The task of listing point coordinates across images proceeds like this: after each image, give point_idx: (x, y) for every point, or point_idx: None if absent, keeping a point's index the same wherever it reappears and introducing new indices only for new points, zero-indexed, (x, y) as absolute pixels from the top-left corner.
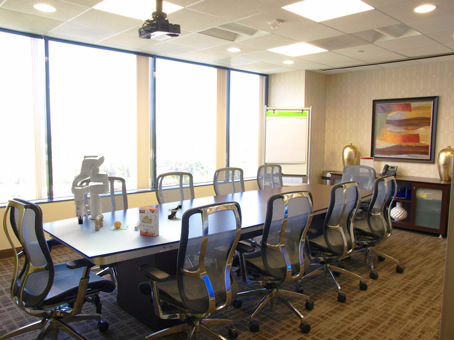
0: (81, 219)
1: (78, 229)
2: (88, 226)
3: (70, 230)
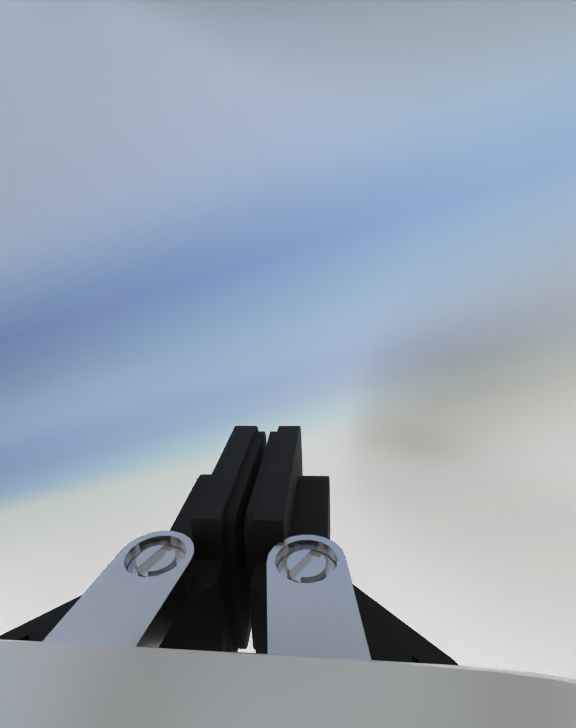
0: (343, 555)
1: (380, 452)
2: (89, 295)
3: (450, 592)
